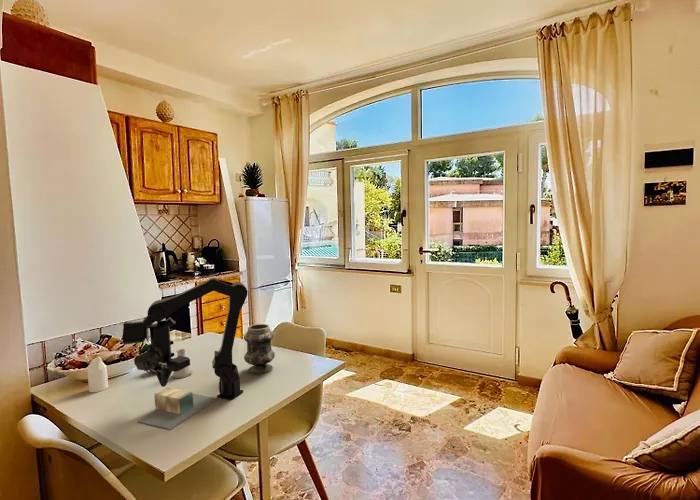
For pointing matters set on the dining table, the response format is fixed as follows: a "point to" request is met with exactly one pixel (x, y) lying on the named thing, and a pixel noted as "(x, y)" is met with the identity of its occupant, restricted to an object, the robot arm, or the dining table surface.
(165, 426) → the slate pad
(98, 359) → the white rounded block
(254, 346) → the apothecary jar
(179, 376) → the flask
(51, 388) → the dining table surface
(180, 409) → the brown and teal block
